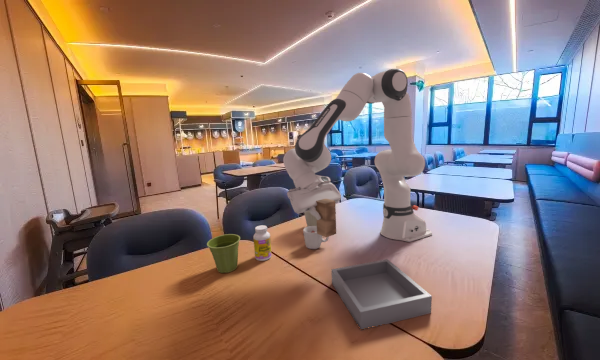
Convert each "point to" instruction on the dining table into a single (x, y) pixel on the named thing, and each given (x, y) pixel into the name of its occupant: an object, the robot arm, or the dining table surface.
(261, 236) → the supplement bottle
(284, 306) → the dining table surface
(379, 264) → the bin
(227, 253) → the plant pot
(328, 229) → the walnut block
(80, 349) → the dining table surface
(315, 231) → the cup
